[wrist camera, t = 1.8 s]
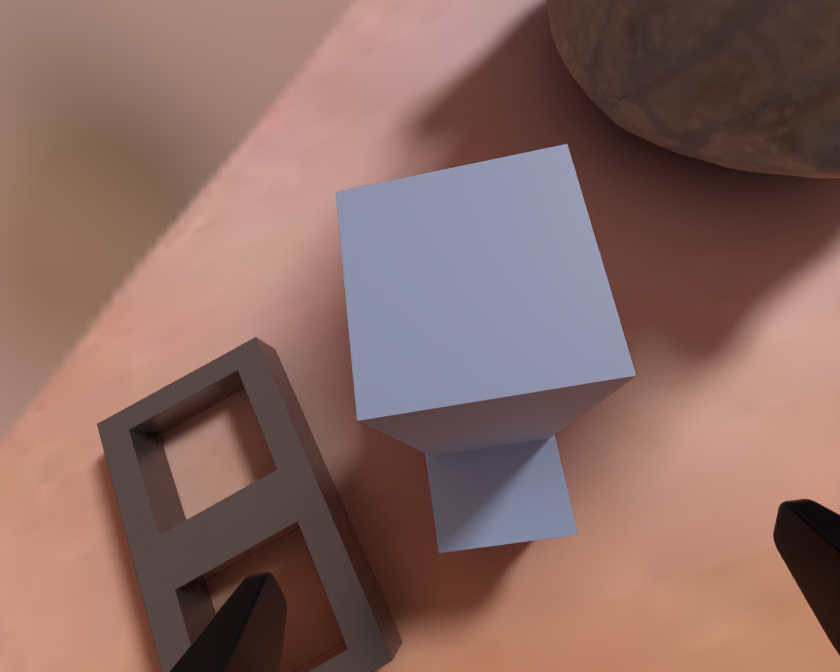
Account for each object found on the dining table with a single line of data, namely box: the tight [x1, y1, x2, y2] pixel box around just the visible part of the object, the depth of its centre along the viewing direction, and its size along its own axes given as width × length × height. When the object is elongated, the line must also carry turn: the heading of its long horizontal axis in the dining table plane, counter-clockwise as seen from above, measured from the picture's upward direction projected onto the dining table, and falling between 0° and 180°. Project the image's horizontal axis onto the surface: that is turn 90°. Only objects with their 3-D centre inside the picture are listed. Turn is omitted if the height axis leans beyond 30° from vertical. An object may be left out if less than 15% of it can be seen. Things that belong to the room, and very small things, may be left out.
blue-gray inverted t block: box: [336, 144, 636, 553], centre depth 14 cm, size 10×4×14 cm, turn 8°
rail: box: [97, 337, 402, 672], centre depth 19 cm, size 14×8×2 cm, turn 28°
